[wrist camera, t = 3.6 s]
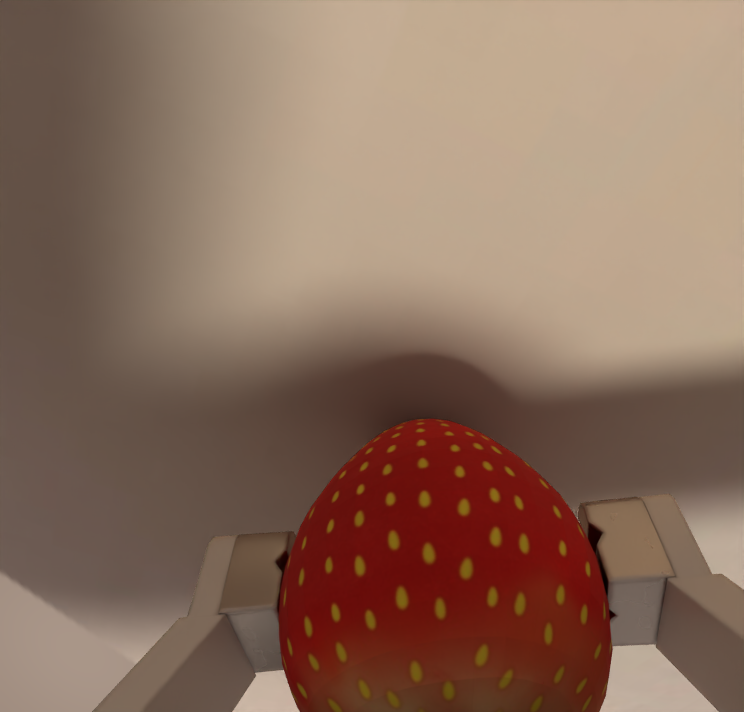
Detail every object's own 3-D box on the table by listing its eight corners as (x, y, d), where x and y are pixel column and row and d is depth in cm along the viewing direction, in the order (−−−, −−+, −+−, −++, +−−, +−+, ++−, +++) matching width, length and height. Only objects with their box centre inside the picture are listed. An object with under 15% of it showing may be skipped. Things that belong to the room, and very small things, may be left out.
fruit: (257, 424, 14) (140, 899, 7) (447, 283, 12) (528, 768, 5) (418, 545, 16) (441, 991, 9) (600, 445, 14) (794, 927, 7)
